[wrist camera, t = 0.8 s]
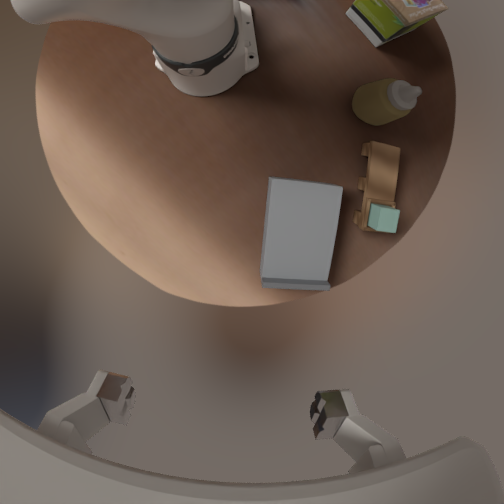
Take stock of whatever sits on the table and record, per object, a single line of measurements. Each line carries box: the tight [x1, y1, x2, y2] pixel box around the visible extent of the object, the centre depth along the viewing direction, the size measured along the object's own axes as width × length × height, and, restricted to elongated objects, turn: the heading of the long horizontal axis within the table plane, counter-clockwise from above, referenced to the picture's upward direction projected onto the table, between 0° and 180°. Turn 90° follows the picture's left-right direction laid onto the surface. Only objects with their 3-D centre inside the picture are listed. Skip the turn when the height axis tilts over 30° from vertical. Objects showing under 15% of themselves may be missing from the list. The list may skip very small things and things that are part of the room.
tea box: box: [346, 0, 448, 47], centre depth 28 cm, size 15×10×15 cm, turn 129°
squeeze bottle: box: [352, 78, 422, 126], centre depth 34 cm, size 8×8×18 cm
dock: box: [260, 176, 343, 291], centre depth 47 cm, size 18×12×7 cm, turn 175°
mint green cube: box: [367, 203, 400, 233], centre depth 43 cm, size 4×4×4 cm
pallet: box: [353, 141, 400, 233], centre depth 45 cm, size 16×6×5 cm, turn 175°
